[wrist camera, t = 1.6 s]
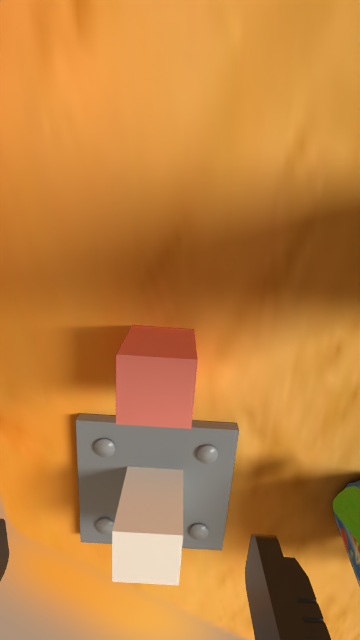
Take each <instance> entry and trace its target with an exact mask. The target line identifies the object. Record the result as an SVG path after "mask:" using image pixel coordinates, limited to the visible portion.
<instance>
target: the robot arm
mask: <svg viewBox="0 0 360 640" xmlns="http://www.w3.org/2000/svg"><path fill="white" fill-rule="evenodd" d="M8 558H9V548H8V541H7V532H6V525H5V521H4V519H0V581H1V579H2V577H3V575H4V572H5V569H6V567H7V563H8ZM245 581H246V590H247V596H248V602H249V607H250V613H251V618H252V624H253V629H254V635H255V640H331V638H330V635H329V633H328V630H327V627H326V624H325V623H324V621H323V616H322V613H321V611H320V608H319V605H318V604H317V602H316V597H315V594H314V592H313V589H312V586H311V583H310V581H309V578H308V576H307V575H306V573H305V572H304V570H303V569H302V568H301V566H300V565H299V563H298V562H297V560H296V559H295V558H289V557H283V554H282V551H281V548H280V545H279V542H278V539H277V537H276V536H274V535H257V534H252V535H251V539H250V545H249V550H248V556H247V561H246V567H245Z"/></svg>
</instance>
